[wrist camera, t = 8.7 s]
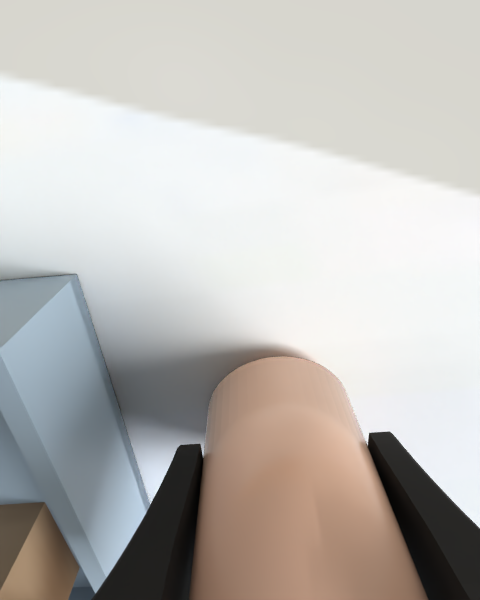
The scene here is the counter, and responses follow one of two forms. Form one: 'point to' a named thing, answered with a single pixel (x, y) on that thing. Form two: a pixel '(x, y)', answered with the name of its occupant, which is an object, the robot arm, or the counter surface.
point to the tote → (65, 426)
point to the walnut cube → (34, 555)
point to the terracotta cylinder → (293, 495)
